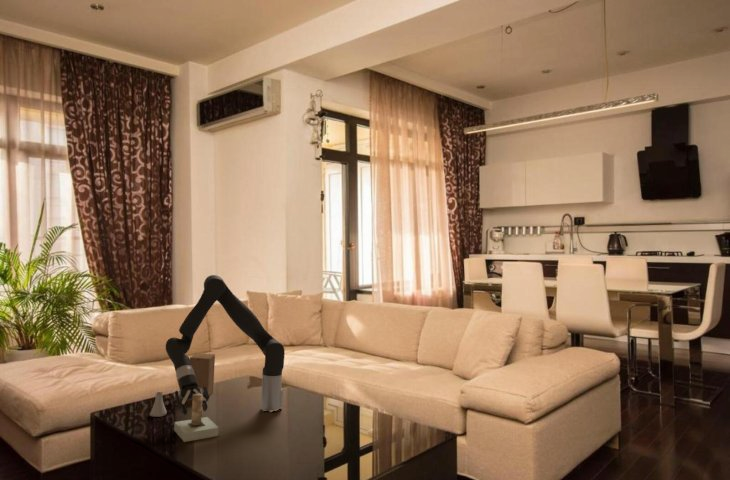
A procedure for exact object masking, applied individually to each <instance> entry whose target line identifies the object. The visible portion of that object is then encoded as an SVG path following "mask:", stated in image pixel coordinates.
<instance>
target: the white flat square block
mask: <svg viewBox="0 0 730 480" xmlns="http://www.w3.org/2000/svg"><path fill="white" fill-rule="evenodd" d="M191 420H192V418H191V419H185V420H180V421H174V427H173V428H174V429H173V430H174V432H175V433H176V434H177V436H178V437H179V438H180V440H182V441H183V443H186V442H191V441H196V440H197V441H198V440H203V439H208V438H213V437H219V429H220V427H219V426H218V425H216V423H214V422H213V421H212V420H211V419H210V418H209V417H208V416H205V417H202V419H201V423H202V424H201V426H200V427H196V428H192V426H191Z"/></svg>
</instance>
